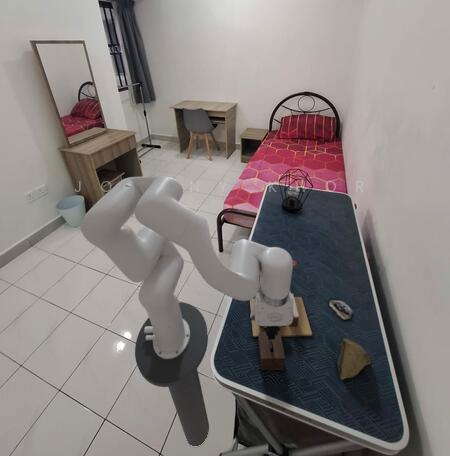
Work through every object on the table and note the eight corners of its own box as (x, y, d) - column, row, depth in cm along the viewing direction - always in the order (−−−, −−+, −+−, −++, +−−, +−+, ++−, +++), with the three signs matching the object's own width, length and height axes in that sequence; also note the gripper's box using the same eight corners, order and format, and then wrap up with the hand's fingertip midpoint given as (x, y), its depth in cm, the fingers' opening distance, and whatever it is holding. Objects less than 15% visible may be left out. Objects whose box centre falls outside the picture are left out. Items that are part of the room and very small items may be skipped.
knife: (267, 353, 73) (269, 326, 66) (266, 342, 75) (267, 315, 69) (274, 353, 73) (276, 326, 66) (272, 342, 75) (274, 315, 69)
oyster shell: (348, 324, 84) (349, 321, 83) (325, 309, 88) (326, 306, 88) (354, 309, 88) (355, 306, 87) (332, 295, 93) (333, 292, 92)
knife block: (260, 370, 73) (261, 358, 70) (258, 344, 80) (258, 332, 77) (283, 369, 73) (285, 358, 70) (279, 343, 79) (280, 331, 76)
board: (253, 337, 81) (253, 335, 81) (249, 299, 93) (249, 298, 93) (311, 336, 81) (312, 334, 80) (301, 298, 93) (301, 296, 92)
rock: (368, 341, 77) (335, 332, 78) (381, 350, 69) (345, 339, 71) (368, 384, 72) (333, 373, 74) (382, 398, 64) (344, 385, 66)
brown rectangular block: (288, 326, 83) (290, 316, 80) (283, 303, 90) (284, 293, 87) (297, 326, 83) (299, 316, 80) (291, 303, 90) (293, 293, 87)
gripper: (244, 305, 58) (244, 345, 67) (309, 304, 58) (301, 344, 66) (242, 277, 65) (243, 317, 73) (301, 276, 65) (294, 316, 73)
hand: (271, 329), depth 70 cm, fingers closed on knife, 2 cm apart
